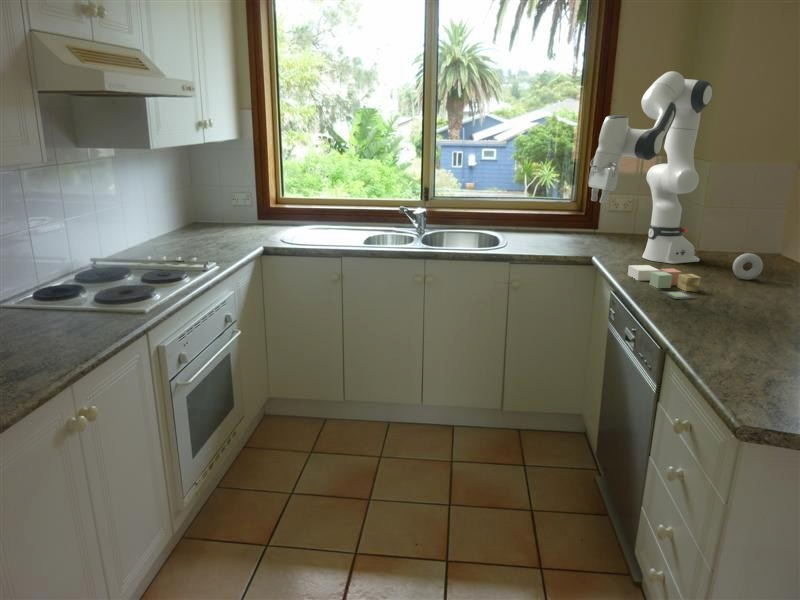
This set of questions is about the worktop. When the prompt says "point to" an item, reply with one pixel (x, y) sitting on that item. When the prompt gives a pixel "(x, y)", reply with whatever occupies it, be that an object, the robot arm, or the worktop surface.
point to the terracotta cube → (674, 274)
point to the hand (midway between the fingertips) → (597, 202)
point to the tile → (679, 295)
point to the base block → (641, 271)
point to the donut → (753, 272)
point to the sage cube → (661, 279)
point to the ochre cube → (688, 282)
